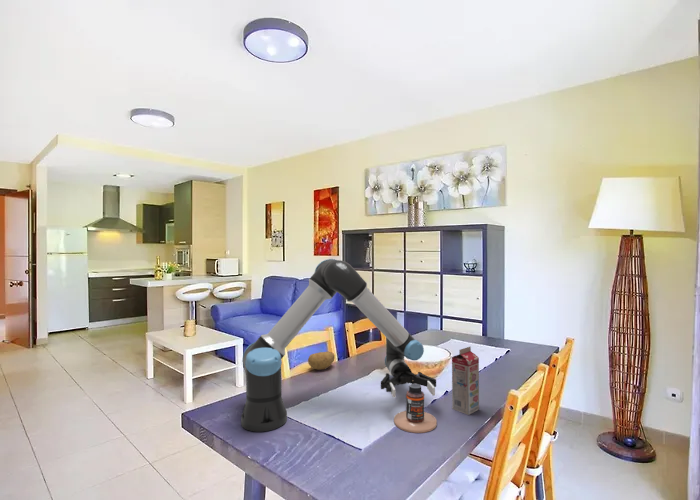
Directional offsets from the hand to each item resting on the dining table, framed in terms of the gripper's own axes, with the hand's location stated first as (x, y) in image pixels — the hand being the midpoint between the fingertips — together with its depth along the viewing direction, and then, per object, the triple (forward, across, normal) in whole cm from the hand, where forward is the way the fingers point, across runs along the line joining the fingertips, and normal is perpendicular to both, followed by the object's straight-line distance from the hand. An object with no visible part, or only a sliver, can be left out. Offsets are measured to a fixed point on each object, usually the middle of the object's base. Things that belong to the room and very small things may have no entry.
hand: (414, 392), depth 128 cm
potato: (-56, +30, -9) cm, 65 cm away
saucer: (+2, 0, -9) cm, 9 cm away
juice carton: (-6, -20, -9) cm, 23 cm away
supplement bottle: (+2, 0, -8) cm, 9 cm away
